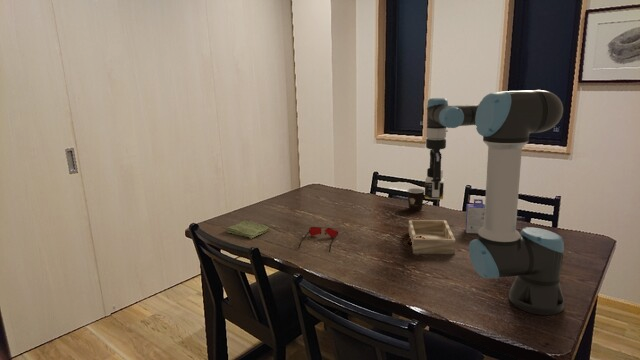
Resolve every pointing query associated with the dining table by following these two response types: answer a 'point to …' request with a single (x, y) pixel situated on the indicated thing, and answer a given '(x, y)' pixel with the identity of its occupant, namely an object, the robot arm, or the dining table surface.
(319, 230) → the glasses
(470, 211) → the ink cartridge box
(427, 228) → the birch box
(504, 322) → the dining table surface
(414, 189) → the coffee mug
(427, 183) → the medicine bottle
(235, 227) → the washcloth
